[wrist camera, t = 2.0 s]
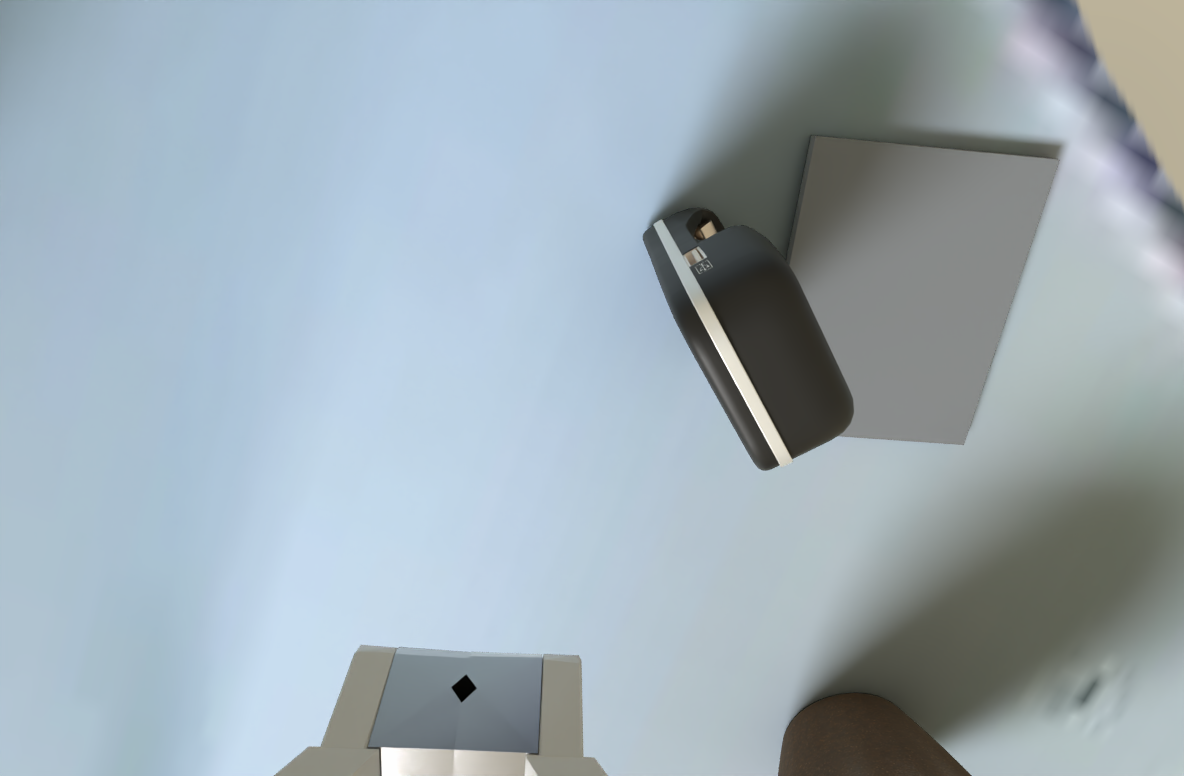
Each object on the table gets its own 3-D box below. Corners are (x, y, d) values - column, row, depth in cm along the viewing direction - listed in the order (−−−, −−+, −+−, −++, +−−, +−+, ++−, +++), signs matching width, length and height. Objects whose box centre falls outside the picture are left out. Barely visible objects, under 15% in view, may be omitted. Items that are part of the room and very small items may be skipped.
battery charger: (786, 320, 33) (887, 443, 22) (709, 360, 33) (772, 498, 23) (717, 180, 30) (796, 245, 20) (636, 226, 31) (669, 314, 20)
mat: (752, 424, 35) (755, 430, 34) (811, 135, 29) (815, 136, 29) (957, 438, 35) (963, 444, 35) (1050, 158, 30) (1059, 159, 29)
